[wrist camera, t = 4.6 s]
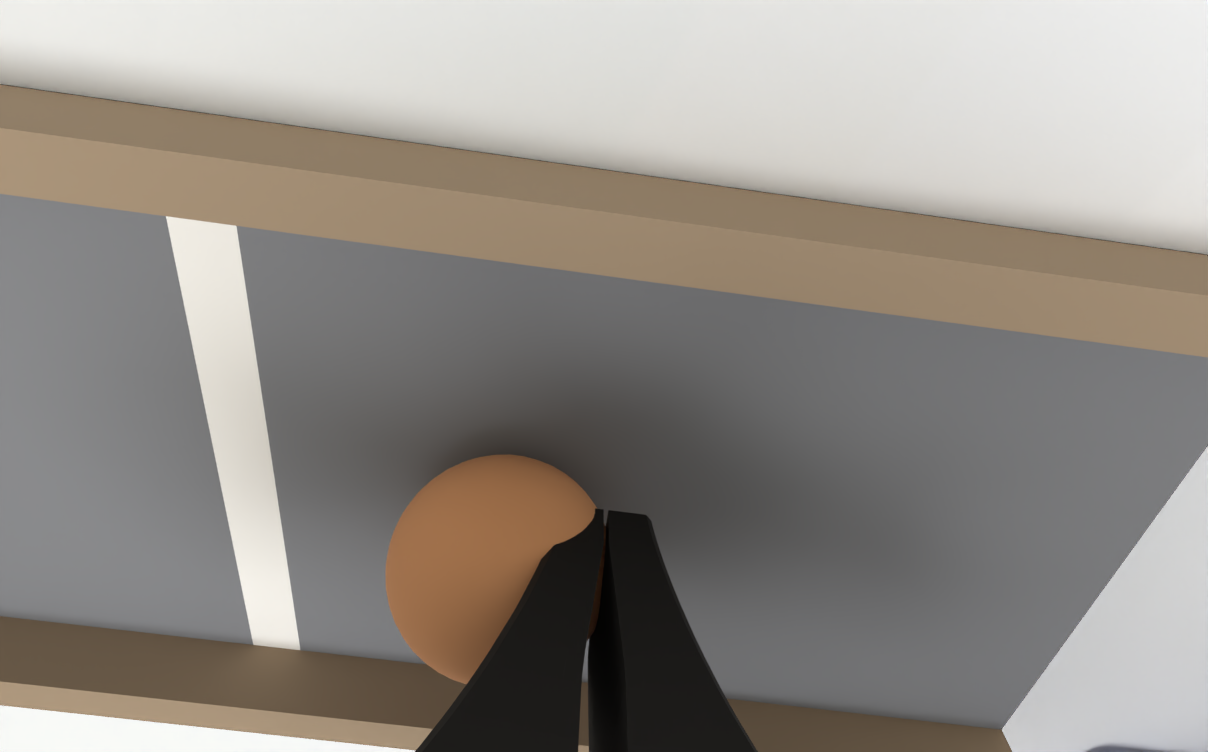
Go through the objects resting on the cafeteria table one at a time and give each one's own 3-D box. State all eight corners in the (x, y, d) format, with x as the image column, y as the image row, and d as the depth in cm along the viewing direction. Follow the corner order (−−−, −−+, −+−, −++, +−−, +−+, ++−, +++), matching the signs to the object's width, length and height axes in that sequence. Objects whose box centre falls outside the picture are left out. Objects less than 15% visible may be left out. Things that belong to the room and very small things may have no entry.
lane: (1290, 266, 10) (1467, 344, 8) (974, 725, 16) (1028, 842, 14) (-617, -3, 9) (-1002, 2, 7) (-208, 591, 15) (-347, 693, 13)
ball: (582, 618, 8) (327, 520, 9) (550, 774, 10) (341, 684, 10) (656, 451, 11) (460, 388, 12) (619, 596, 13) (453, 534, 13)
